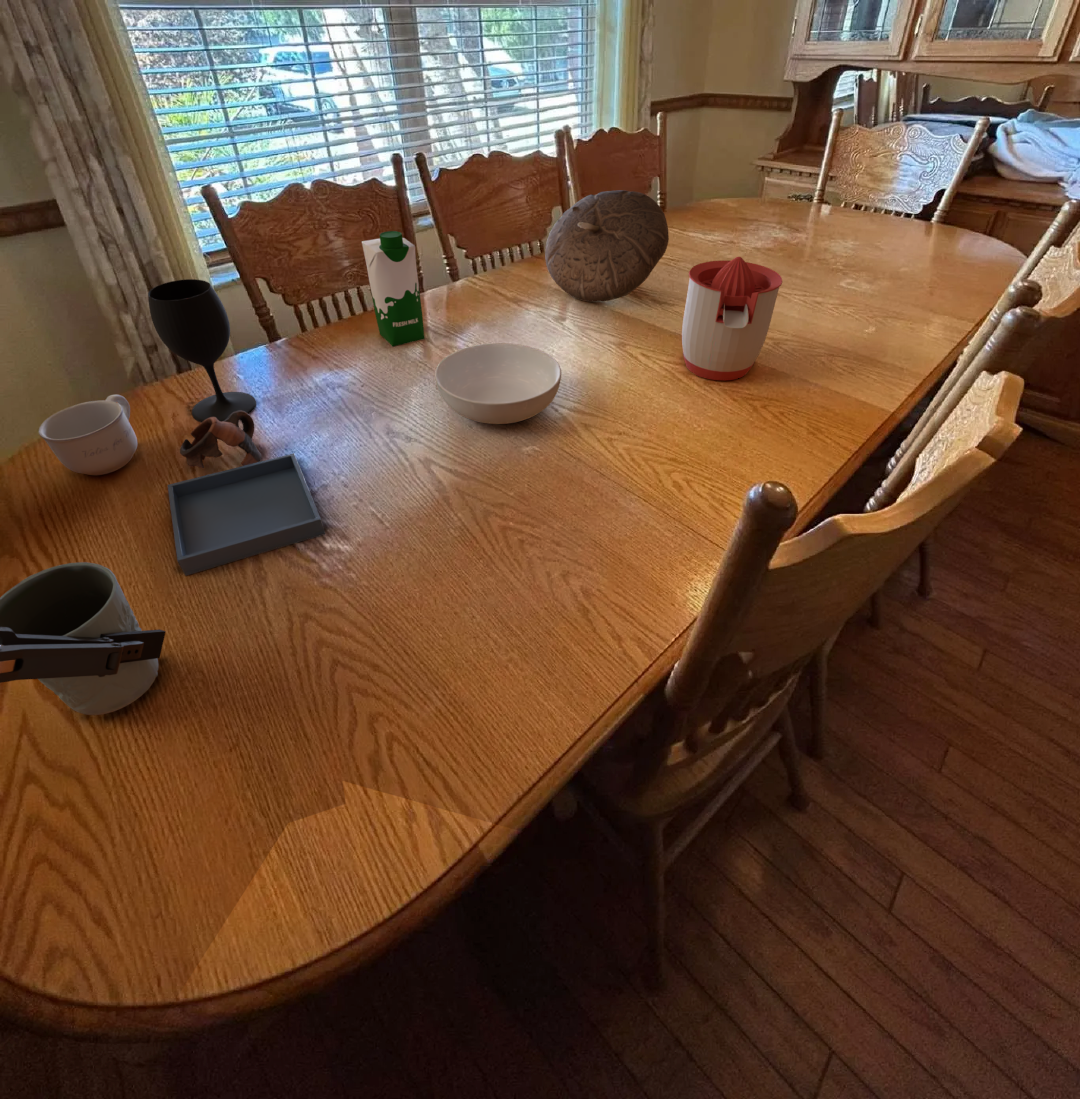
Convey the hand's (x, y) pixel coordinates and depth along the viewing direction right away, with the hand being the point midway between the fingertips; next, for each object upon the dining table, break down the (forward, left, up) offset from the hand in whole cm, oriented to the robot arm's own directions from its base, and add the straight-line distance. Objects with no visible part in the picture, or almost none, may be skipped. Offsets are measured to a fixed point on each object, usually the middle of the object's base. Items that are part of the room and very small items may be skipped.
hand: (116, 631), depth 63 cm
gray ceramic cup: (+2, -2, -5) cm, 5 cm away
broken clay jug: (-37, +14, -6) cm, 40 cm away
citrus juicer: (-27, +99, -6) cm, 103 cm away
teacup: (-46, -2, -6) cm, 46 cm away
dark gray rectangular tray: (-22, +14, -6) cm, 26 cm away
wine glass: (-54, +15, -6) cm, 56 cm away
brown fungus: (-73, +102, -6) cm, 125 cm away
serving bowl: (-33, +57, -6) cm, 66 cm away
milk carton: (-68, +51, -6) cm, 85 cm away
